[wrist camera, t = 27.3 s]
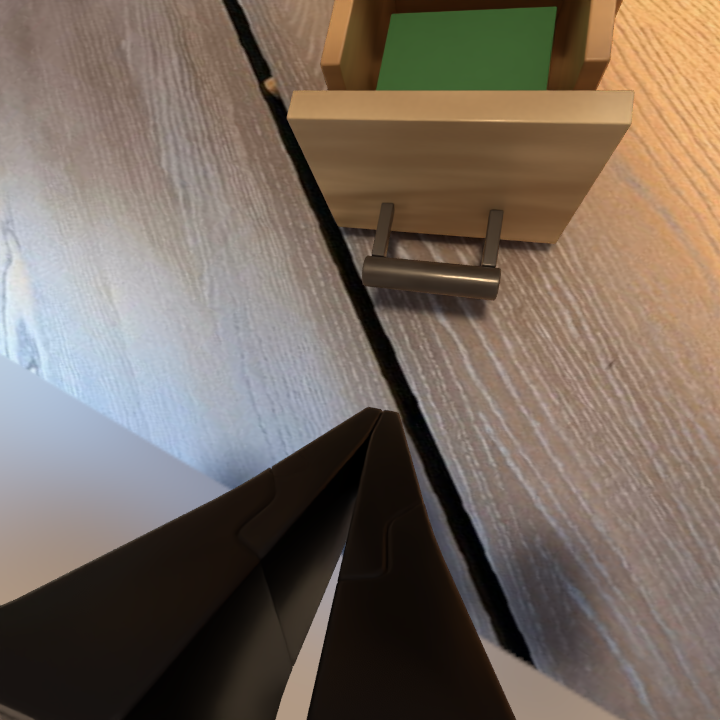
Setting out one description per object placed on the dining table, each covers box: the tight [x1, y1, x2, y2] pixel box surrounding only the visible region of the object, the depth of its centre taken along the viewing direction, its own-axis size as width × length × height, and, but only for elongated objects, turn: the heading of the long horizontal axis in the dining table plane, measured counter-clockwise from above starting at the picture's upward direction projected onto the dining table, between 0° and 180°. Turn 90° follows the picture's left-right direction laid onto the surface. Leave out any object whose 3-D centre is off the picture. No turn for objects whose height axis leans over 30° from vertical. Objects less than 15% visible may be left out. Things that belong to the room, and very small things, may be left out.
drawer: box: [287, 0, 634, 300], centre depth 17 cm, size 17×11×8 cm
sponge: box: [376, 7, 557, 91], centre depth 18 cm, size 4×7×4 cm, turn 79°
